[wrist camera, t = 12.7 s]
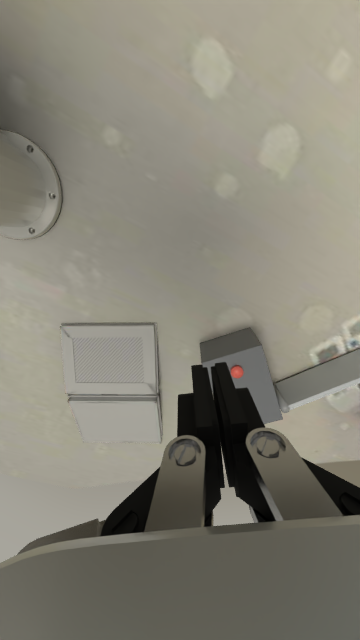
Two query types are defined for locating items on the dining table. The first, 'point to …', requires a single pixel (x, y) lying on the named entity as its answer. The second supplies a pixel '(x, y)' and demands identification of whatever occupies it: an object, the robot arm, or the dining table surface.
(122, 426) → the gadget
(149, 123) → the dining table surface
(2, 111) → the dining table surface
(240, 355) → the gray box with knob
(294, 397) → the side door
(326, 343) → the dining table surface
